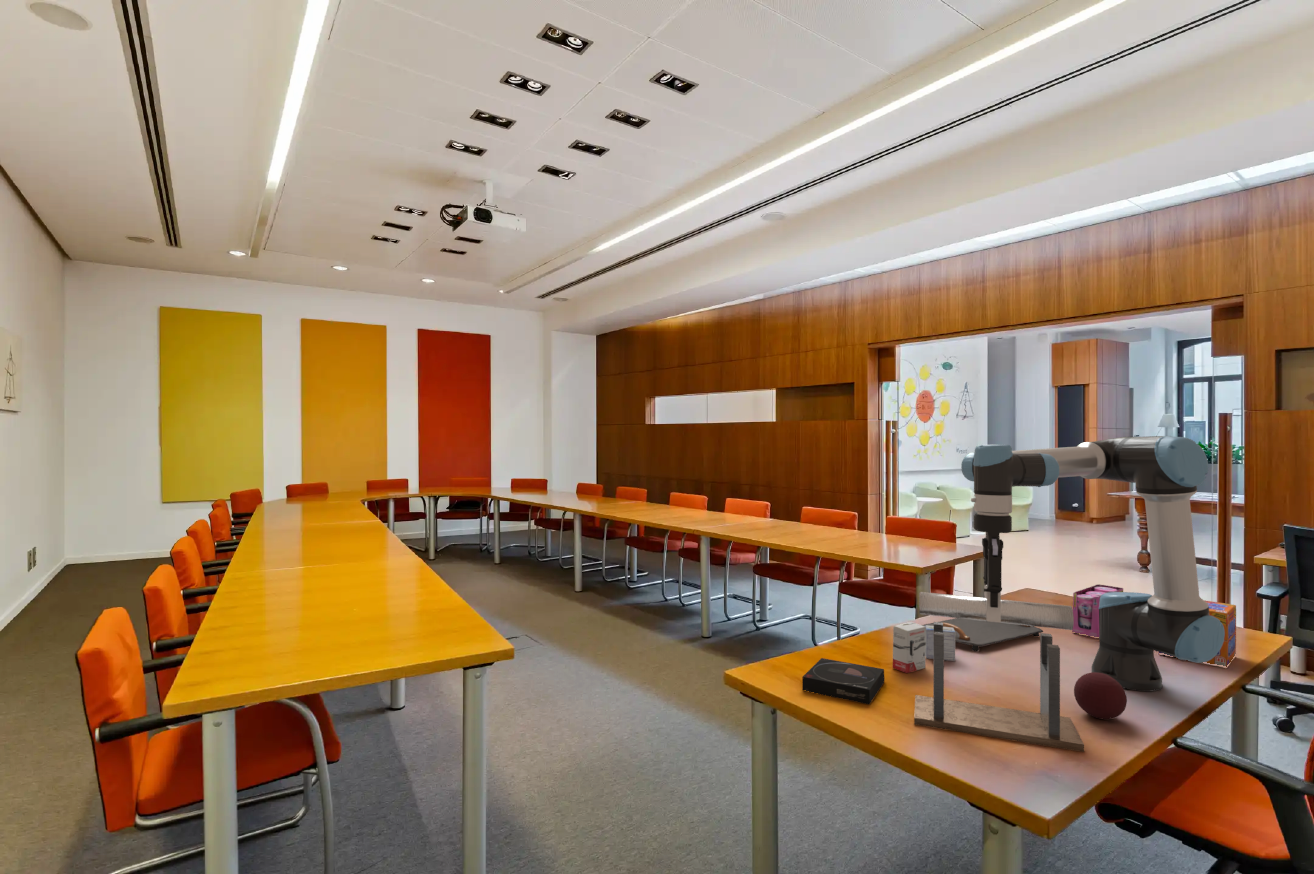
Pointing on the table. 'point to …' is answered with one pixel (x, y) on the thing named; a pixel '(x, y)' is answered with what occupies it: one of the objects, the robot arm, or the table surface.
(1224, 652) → the game box
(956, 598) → the steel rod
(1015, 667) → the table surface
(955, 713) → the bracket rack
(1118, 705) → the decorative ball
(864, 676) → the portable cd player
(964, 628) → the serving board
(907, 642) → the ink box
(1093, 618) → the gum box
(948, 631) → the medicine box
